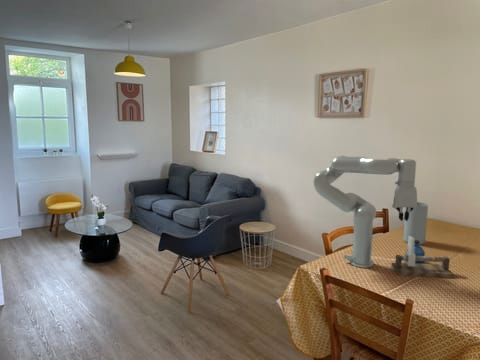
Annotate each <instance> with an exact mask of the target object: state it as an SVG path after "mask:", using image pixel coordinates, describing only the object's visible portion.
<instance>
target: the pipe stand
mask: <svg viewBox="0 0 480 360" xmlns="http://www.w3.org/2000/svg"><path fill="white" fill-rule="evenodd" d="M450 259H451V258H449V257H448V256H416V257H415V261H424V262H433V263H421V264H416V263H415V266H408V265H407V264H406V263H405V262H403V261H408V256H405V255H400V254H395V260H394V261H395V262H391V265H390V266H391V268H392V269H393V270H394V272H395V273H396V274H397V275H398V276H403V277H405V276H406V277H423V278H424V277H426V278H428V277H429V278H449V279H453V278H454V277H455V274H454V272H452V271H451V270H450V269H449V268H450ZM437 262H438V263H441V264H436V263H437Z"/></svg>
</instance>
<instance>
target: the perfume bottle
mask: <svg viewBox="0 0 480 360" xmlns="http://www.w3.org/2000/svg"><path fill="white" fill-rule="evenodd" d="M419 242H420V241H419V240H415V241H414V254H415V255H416V256H425V253H426V252H425V251H424V250H425V249H423V247H421V246H420V243H419ZM407 250H408V248H407V249H406V251H407ZM415 263H416V264H425V261H415Z"/></svg>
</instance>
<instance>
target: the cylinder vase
mask: <svg viewBox="0 0 480 360" xmlns="http://www.w3.org/2000/svg"><path fill="white" fill-rule="evenodd" d="M428 207H429V204H428V203H425V202H420V201H417V209H413V210H412V211H411V212H410V213H409V219H408V221H406V220H405V219H404V228H403V241H404V243H407V244H408V236H411V237H413V238H414V239H415V240H419V241H420V242H419V243H420V245H424V244H425V243H426V235H427V223H428V210H429V208H428ZM405 212H406V210H405V211H404V213H405ZM420 245H419V246H420Z"/></svg>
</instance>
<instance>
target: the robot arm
mask: <svg viewBox="0 0 480 360" xmlns="http://www.w3.org/2000/svg"><path fill="white" fill-rule="evenodd" d="M416 168H417V161H416V160H414V159H410V158H409V159H408V158H403V159H401V158H396V157H395V158H394V157H389V158H387V159H372V158H367V157H365V156H345V155H340V156H336V157H335V158H333V159H332V160H331V164H330V165H329V166H328V167H326V168H325V169H323V170H320V171H318V172H317V173H316V175H314V178H313V186H314V190H315V191H316V192H317V194H318V195H319V196H321V198H323V199H325V200H327V202H330V203H331V204H332V205H334V206H335V207H336V208H338V209H339V210H341V211H342V212H344V213H350V212H352V213H354V214H353V240H352V253H351V254H349V255H348V254H344V255H343V259H346V261H349V264H350V263H351V264H350V265H351V266H353V267H356V266H357V267H356V268H365V269H366V268H367V269H370V268H372V267H374V265H375V262H374V261H373V260H372V248H373V234H374V233H373V223H374V219H375V218H376V216H377V209H376V207H375V206H374V205H373V204H372V203H371V202H369V201H367V200H366V199H364V198H363V197H361V196H359V195H358V194H356V193H354V192H347V193H346V192H344V191H342V190H341V189H339V188H337V187H335V186H334V185H332V184H333V183H334V182H335V181H337V179H339V178H340V177H341V176H342V175H343V174H345V173H346V174H347V173H350V174H351V173H354V174H365V175H366V174H369V175H380V176H381V175H382V176H383V175H387V176H389V175H390V176H391V175H392V174H395V173H398V176H397V178H398V179H397V181H395V182H394V185H396V187H395V190H394V194H393V195H394V196H393V203H392V205H391V208H392V209H395V210H397V212H398V219H399V220H400V221H401V222H403V221H405V220H406V221H408V219H409V213H410V212H411V211H412V210H413V209H417V202H418V190H417V187H415V183H416ZM403 208H405V211H406V212H405V211H404V212H403Z"/></svg>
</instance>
